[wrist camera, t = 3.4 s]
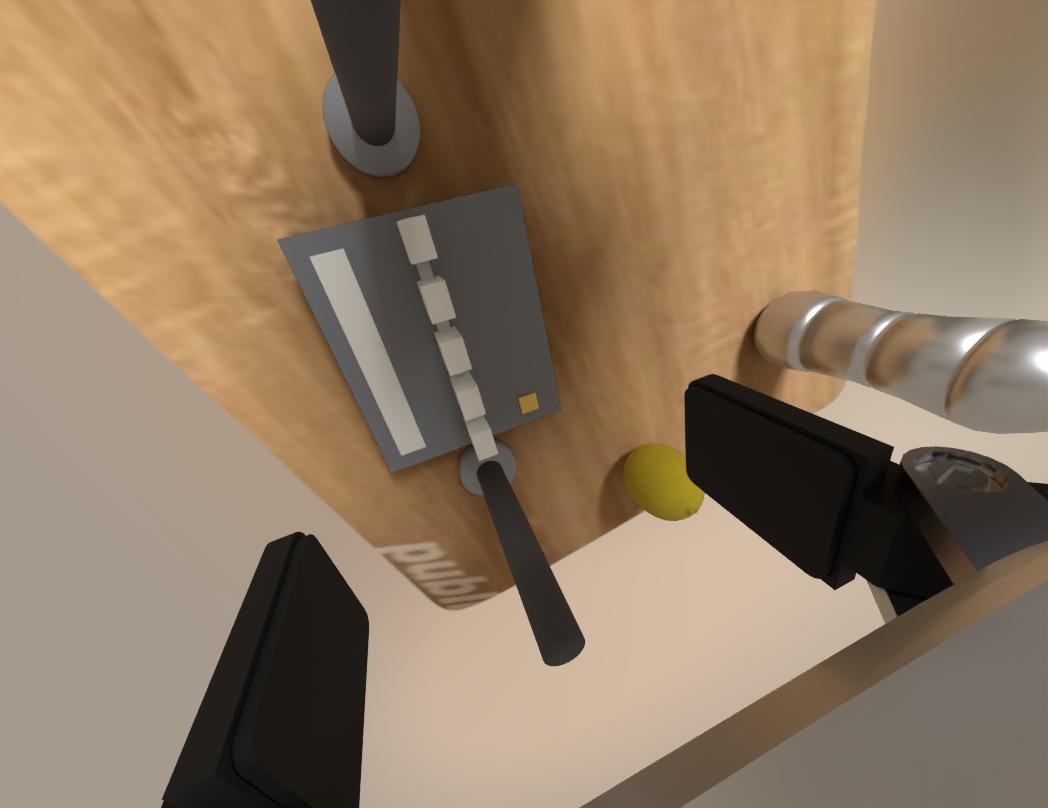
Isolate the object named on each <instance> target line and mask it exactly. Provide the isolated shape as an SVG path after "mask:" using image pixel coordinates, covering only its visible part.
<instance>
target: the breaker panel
mask: <svg viewBox="0 0 1048 808" xmlns="http://www.w3.org/2000/svg"><path fill="white" fill-rule="evenodd" d="M421 215H425V217H426V221H427V224H428V227H429V230H430V234H431V237H432V240H433V243H434V247H435V250H436V253H437V256H438V258H436V259H432V260H429V262H430V265H431V268H432V271H433V274H434V277H435V276H438V275H439V276H440V277H441V278H443V279H444V280H445V282H446V285H447V289H448V292H449V295H450V298H451V302H452V305H453V308H454V311H455V315H456V318H453V319H450V320H448V321H449V324H450V327H453V326H455V327H456V329H457V330H458V332H459V333H460V334H461V336H462V337H463V341H464V344H465V347H466V350H467V354H468V357H469V360H470V363H471V367H472V369H471V370H468V371H469V372H470V374H471V376H472V377H473V379H474V381H475V383H476V384H477V386H478V389H479V393H480V396H481V399H482V402H483V406H484V409H485V412H486V414H485V415H484V417H485V419H486V421H487V423H488V425H489V427H490V429H491V432H492V435H493V436H494V435H496V434H499V433H502V432H505V431H507V430H510V429H513V428H515V427H518V426H521V425H524V424H526V423H529V422H532V421H534V420H537V419H540V418H543V417H545V416H548V415H551V414H553V413H556V412H559V411H562V410H561V405H560V400H559V395H558V390H557V385H556V380H555V374H554V369H553V364H552V359H551V354H550V349H549V344H548V339H547V333H546V328H545V323H544V318H543V313H542V308H541V303H540V297H539V292H538V287H537V282H536V277H535V272H534V267H533V262H532V256H531V251H530V246H529V241H528V236H527V231H526V226H525V221H524V215H523V210H522V205H521V200H520V195H519V190H518V185H517V183H516V184H512V185H508V186H504V187H499V188H495V189H491V190H487V191H482V192H478V193H474V194H470V195H465V196H461V197H457V198H453V199H448V200H444V201H440V202H435V203H431V204H427V205H423V206H418V207H414V208H410V209H406V210H401V211H397V212H393V213H389V214H384V215H380V216H376V217H372V218H367V219H363V220H359V221H355V222H350V223H346V224H342V225H338V226H333V227H329V228H325V229H321V230H316V231H312V232H308V233H304V234H299V235H295V236H291V237H287V238H282V239H278V240H277V241H278V243H279V245H280V247H281V249H282V251H283V253H284V255H285V257H286V259H287V261H288V263H289V265H290V267H291V269H292V271H293V273H294V275H295V277H296V279H297V281H298V283H299V285H300V287H301V289H302V291H303V294H304V296H305V298H306V300H307V302H308V304H309V306H310V308H311V310H312V312H313V314H314V316H315V318H316V320H317V322H318V324H319V326H320V328H321V330H322V332H323V334H324V336H325V338H326V340H327V342H328V344H329V346H330V348H331V351H332V353H333V355H334V357H335V359H336V361H337V363H338V365H339V367H340V369H341V371H342V373H343V375H344V377H345V379H346V381H347V383H348V385H349V387H350V389H351V391H352V393H353V395H354V397H355V399H356V401H357V403H358V405H359V408H360V410H361V412H362V414H363V416H364V418H365V420H366V422H367V424H368V426H369V428H370V430H371V432H372V434H373V436H374V438H375V440H376V442H377V444H378V446H379V448H380V450H381V452H382V454H383V456H384V458H385V460H386V462H387V465H388V467H389V469H390V471H391V473H393V472H396V471H399V470H401V469H404V468H407V467H409V466H412V465H415V464H418V463H420V462H423V461H426V460H428V459H431V458H434V457H437V456H439V455H442V454H445V453H447V452H450V451H453V450H456V449H458V448H461V447H464V446H466V445H469V444H472V442H471V439H470V436H469V433H468V430H467V427H466V424H465V421H464V418H463V417H464V416H463V414H462V411H461V409H460V406H459V404H458V401H457V398H456V395H455V392H454V389H453V386H452V384H451V381H450V378H449V377H451V376H450V374H449V372H448V370H447V368H446V365H445V363H444V360H443V357H442V354H441V352H440V349H439V346H438V343H437V340H436V337H435V334H434V332H437V331H438V328H437V326H436V324H432V322H431V320H430V318H429V316H428V314H427V311H426V308H425V305H424V302H423V299H422V296H421V293H420V290H419V288H418V285H417V281H420V280H421V278H420V275H419V272H418V269H417V266H416V264H413V265H412V264H411V263H410V261H409V259H408V256H407V253H406V250H405V247H404V244H403V241H402V238H401V235H400V232H399V229H398V227H397V224H396V223H397V221H400V220H401V219H405V218H409V217H414V216H415V217H417V216H421ZM465 372H466V371H465Z"/></svg>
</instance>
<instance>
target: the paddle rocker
mask: <svg viewBox="0 0 1048 808" xmlns="http://www.w3.org/2000/svg"><path fill="white" fill-rule="evenodd" d="M396 224H397V227H398V229H399V232H400V235H401V238H402V241H403V244H404V247H405V250H406V253H407V256H408V259H409V261H410V263H411V264H412V265H413V264H416V266H417V269H418V272H419V275H420V278H421V280H420V281H417V285H418V288H419V290H420V293H421V296H422V299H423V302H424V305H425V308H426V311H427V314H428V316H429V318H430V320H431V322H432V324H436V326H437V328H438V331H437V332H434V334H435V337H436V340H437V343H438V346H439V349H440V352H441V354H442V357H443V360H444V363H445V365H446V368H447V370H448V372H449V374H450V376H451V377H449V378H450V381H451V384H452V386H453V389H454V392H455V395H456V398H457V401H458V404H459V406H460V409H461V411H462V414H463V416H464V417H463V418H464V421H465V424H466V427H467V430H468V433H469V436H470V439H471V442H472V444H473V447H474V449H475V452H476V454H477V457H478V459H479V461H481V460H483V459H486V458H489V457H491V456H494V455H497V454H498V451H497V448H496V445H495V441H494V438H493V435H492V432H491V429H490V427H489V425H488V423H487V421H486V419H485V417H484V415H485V414H486V412H485V409H484V406H483V402H482V399H481V396H480V393H479V389H478V386H477V384H476V383H475V381H474V379H473V377H472V376H471V374H470V372H469V371H468V370H471V369H472V367H471V363H470V360H469V357H468V354H467V350H466V347H465V344H464V341H463V337H462V336H461V334H460V333H459V332H458V330H457V329H456V327H455V326H453V327H450V324H449V321H448V320H450V319H453V318H456V315H455V311H454V308H453V305H452V302H451V298H450V295H449V292H448V289H447V285H446V282H445V280H444V279H443V278H441V277H440V276H439V275H438V276H435V277H434V274H433V271H432V268H431V265H430V262H429V260H432V259H436V258H438V256H437V253H436V250H435V247H434V243H433V240H432V237H431V234H430V230H429V227H428V224H427V221H426V217H425V215H421V216H417V217H415V216H414V217H409V218H405V219H401V220H400V221H397V223H396ZM465 371H466V372H465Z"/></svg>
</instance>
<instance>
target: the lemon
mask: <svg viewBox="0 0 1048 808" xmlns="http://www.w3.org/2000/svg"><path fill="white" fill-rule="evenodd" d="M623 479H624V483H625V486H626V488H627V490H628V492H629V494H630V495H631V497H632V498H633V500H634V501H635V502H636V503H637V504H638V505H640V506H641V507H642V508H643V509H644V510H646V511H647V512H648V513H650V514H652V515H653V516H655V517H658V518H661V519H664V520H669V521H678V520H682V519H685V518H688V517H690V516H692V515H693V514H695V513H697V511H698V510H699V508H700V506H701V505H702V502H703V499H704V494H705V492H703V491H702V490H701V489H700V488H698V487H697V486H696V485H695V484H693V483H692V482H691V480H690V479H689V477H688V475H687V473H686V456H684V455H683V454H682V453H680V452H679V451H678V450H676V449H674V448H672V447H669V446H666V445H663V444H646V445H642V446H640V447H638V448H636V449H635V450H634V451H632V452H631V454H630V455H629V456H628V458H627V459H626V461H625V464H624V468H623Z"/></svg>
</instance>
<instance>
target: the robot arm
mask: <svg viewBox="0 0 1048 808" xmlns="http://www.w3.org/2000/svg"><path fill="white" fill-rule="evenodd" d="M685 445H686V473H687V475H688V477H689V479H690V480H691V482H692V483H693V484H695V485H696V486H697V487H698V488H700V489H701V490H702V491H703V492H705V493H706V494H708V495H709V496H710V497H711V498H712V499H714V500H715V501H716V502H717V503H719V504H720V505H721V506H722V507H724V508H725V509H726V510H727V511H729V512H730V513H731V514H732V515H734V516H735V517H736V518H737V519H739V520H740V521H741V522H742V523H744V524H745V525H746V526H747V527H749V528H750V529H751V530H753V531H754V532H755V533H756V534H758V535H759V536H760V537H761V538H762V539H764V540H765V541H766V542H768V543H769V544H770V545H771V546H773V547H774V548H775V549H776V550H778V551H779V552H780V553H782V554H783V555H784V556H785V557H787V558H788V559H789V560H790V561H792V562H793V563H794V564H795V565H796V566H798V567H799V568H800V569H802V570H803V571H804V572H805V573H807V574H808V575H810V576H811V577H814V578H817V579H821V580H822V581H824V582H825V583H826V584H828V585H829V586H830V587H832V588H833V589H834V590H836V589H838V588H840V587H841V586H843V585H845V584H847V583H849V582H850V581H852V580H854V579H855V575H856V573H858V574H859V575H861V576H862V577H863V578H865V579H866V580H867V582H868V584H869V587H870V589H871V591H872V594H873V596H874V599H875V601H876V603H877V605H878V608H879V610H880V612H881V615H882V617H883V620H884V622H885V625H883V626H881V627H880V628H878V629H876V630H875V631H873V632H871V633H870V634H868V635H866V636H865V637H863V638H861V639H860V640H858V641H856V642H855V643H853V644H851V645H849V646H848V647H846V648H844V649H843V650H841V651H839V652H838V653H836V654H834V655H833V656H831V657H829V658H828V659H826V660H824V661H823V662H821V663H819V664H817V665H816V666H814V667H812V668H811V669H809V670H808V671H806V672H804V673H802V674H801V675H799V676H797V677H796V678H794V679H792V680H791V681H789V682H787V683H786V684H784V685H782V686H781V687H779V688H777V689H776V690H774V691H772V692H771V693H769V694H767V695H766V696H764V697H763V698H761V699H759V700H757V701H756V702H754V703H752V704H751V705H749V706H747V707H746V708H744V709H742V710H741V711H739V712H737V713H736V714H734V715H732V716H731V717H729V718H728V719H726V720H724V721H722V722H721V723H719V724H717V725H716V726H714V727H712V728H711V729H709V730H707V731H706V732H704V733H703V734H701V735H699V736H697V737H696V738H694V739H692V740H691V741H689V742H688V743H686V744H684V745H682V746H681V747H679V748H678V749H676V750H674V751H673V752H671V753H669V754H668V755H666V756H664V757H663V758H661V759H659V760H658V761H656V762H654V763H653V764H651V765H649V766H648V767H646V768H644V769H643V770H641V771H639V772H638V773H636V774H634V775H633V776H631V777H629V778H628V779H626V780H625V781H623V782H621V783H619V784H618V785H616V786H615V787H613V788H611V789H610V790H608V791H606V792H605V793H603V794H601V795H600V796H598V797H596V798H595V799H593V800H592V801H590V802H588V803H587V804H585V805H583V806H582V807H580V808H1048V484H1043V483H1032V482H1026V480H1024V479H1023V478H1022V477H1021V476H1020V475H1019V474H1018V473H1017V472H1015V471H1014V470H1012V469H1011V468H1010V467H1008V466H1007V465H1005V464H1003V463H1001V462H999V461H996V460H994V459H992V458H990V457H987V456H983V455H981V454H978V453H974V452H971V451H965V450H961V449H956V448H948V447H920V448H916V449H912V450H910V451H908V452H906V453H905V454H903V457H902V459H901V462H900V465H899V464H897V463H894V462H892V461H890V459H891V455H892V452H893V449H894V447H893V446H890V445H888V444H885V443H883V442H880V441H878V440H876V439H873V438H871V437H868V436H866V435H863V434H861V433H858V432H856V431H853V430H851V429H848V428H846V427H844V426H841V425H839V424H836V423H834V422H831V421H829V420H826V419H824V418H822V417H819V416H817V415H814V414H812V413H809V412H807V411H804V410H802V409H799V408H797V407H794V406H792V405H790V404H787V403H785V402H782V401H780V400H777V399H775V398H772V397H770V396H767V395H765V394H762V393H760V392H758V391H755V390H753V389H750V388H748V387H745V386H743V385H740V384H738V383H735V382H733V381H730V380H728V379H725V378H723V377H721V376H718V375H715V374H710V375H707V376H705V377H702V378H699V379H697V380H694V381H692V382H691V383H690V384H689V386H688V389H687V390H686V391H685ZM368 639H369V620H368V616H367V613H366V611H365V609H364V607H363V606H362V604H361V603H360V602H359V600H358V599H357V597H356V596H355V594H354V593H353V591H352V590H351V588H350V587H349V585H348V584H347V582H346V581H345V580H344V578H343V576H342V575H341V574H340V572H339V571H338V569H337V568H336V566H335V565H334V563H333V562H332V560H331V559H330V557H329V556H328V554H327V553H326V551H325V550H324V549H323V547H322V546H321V544H320V543H319V541H318V540H317V538H316V537H315V536H314V535H312V534H310V535H307V536H305V534H304V533H302V532H296V533H293V534H290V535H288V536H285V537H282V538H280V539H277V540H275V541H272V542H270V543H268V544H267V546H266V547H265V550H264V552H263V554H262V557H261V559H260V562H259V564H258V567H257V569H256V571H255V574H254V576H253V579H252V581H251V584H250V586H249V589H248V591H247V594H246V596H245V598H244V601H243V603H242V606H241V608H240V610H239V613H238V615H237V618H236V620H235V623H234V625H233V627H232V630H231V632H230V635H229V637H228V640H227V642H226V645H225V647H224V649H223V652H222V654H221V657H220V659H219V662H218V664H217V666H216V669H215V671H214V674H213V676H212V679H211V681H210V683H209V686H208V688H207V691H206V693H205V696H204V698H203V701H202V703H201V705H200V708H199V710H198V713H197V715H196V718H195V720H194V722H193V725H192V727H191V730H190V732H189V735H188V737H187V739H186V742H185V744H184V747H183V749H182V752H181V754H180V756H179V759H178V761H177V764H176V766H175V769H174V771H173V773H172V776H171V778H170V781H169V783H168V786H167V788H166V791H165V793H164V796H163V798H162V800H164V802H163V804H162V807H161V808H359V800H360V781H361V764H362V747H363V746H362V745H363V728H364V711H365V710H364V709H365V693H366V675H367V673H366V672H367V657H368V656H367V655H368Z"/></svg>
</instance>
